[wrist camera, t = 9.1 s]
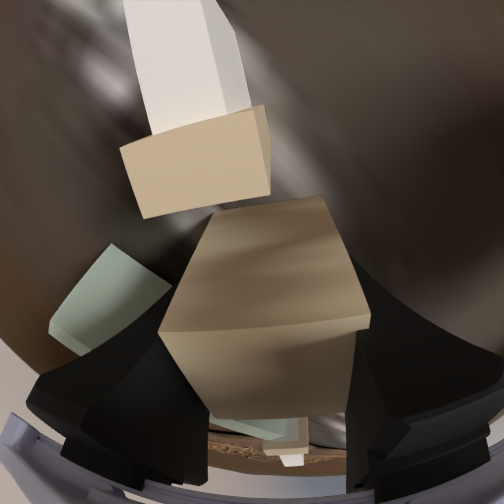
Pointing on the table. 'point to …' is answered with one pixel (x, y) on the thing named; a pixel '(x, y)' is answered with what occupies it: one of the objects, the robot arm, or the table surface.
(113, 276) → the door
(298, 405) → the block
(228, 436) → the wooden fragment
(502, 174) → the table surface
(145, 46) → the wall frame
